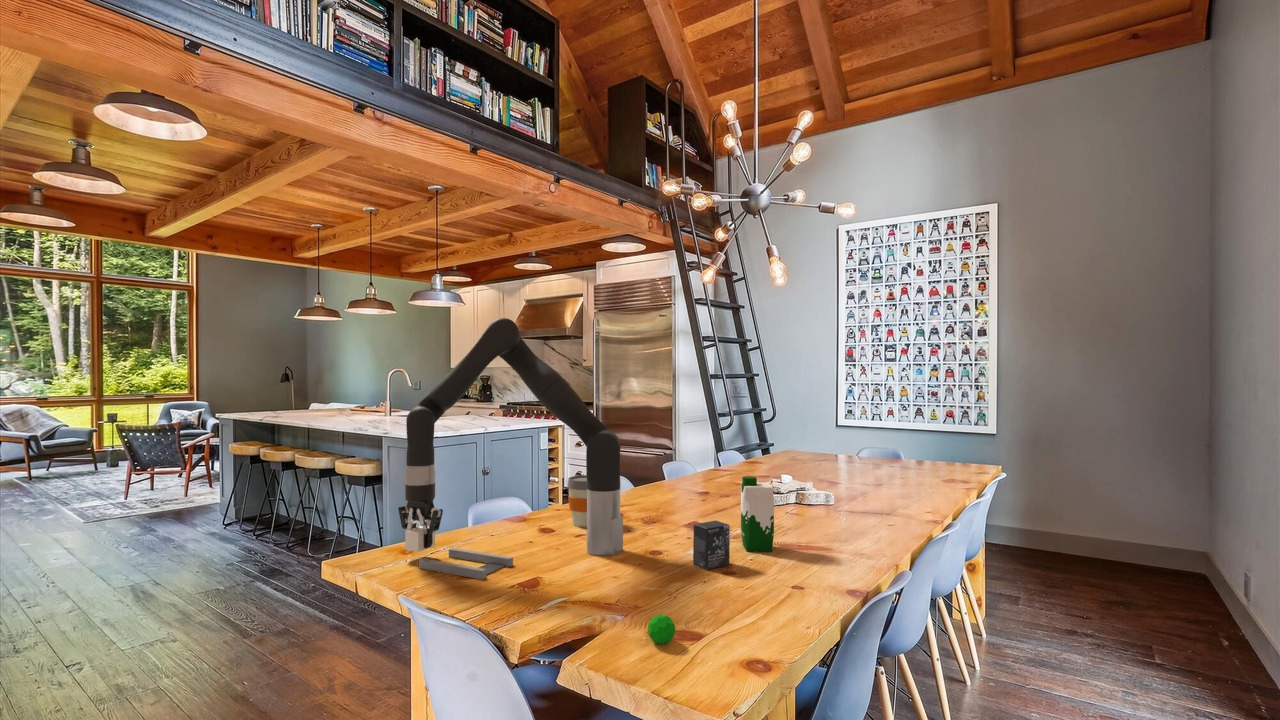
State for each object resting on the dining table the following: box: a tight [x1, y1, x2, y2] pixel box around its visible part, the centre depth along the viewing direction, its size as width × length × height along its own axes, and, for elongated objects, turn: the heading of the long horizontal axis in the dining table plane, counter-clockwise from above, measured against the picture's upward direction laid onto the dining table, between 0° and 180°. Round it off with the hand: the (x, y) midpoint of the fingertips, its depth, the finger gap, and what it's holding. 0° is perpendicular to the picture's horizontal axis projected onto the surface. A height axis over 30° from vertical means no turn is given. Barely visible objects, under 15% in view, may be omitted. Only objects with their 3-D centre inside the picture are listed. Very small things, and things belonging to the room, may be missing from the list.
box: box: [692, 520, 731, 571], centre depth 154 cm, size 8×6×11 cm
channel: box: [418, 547, 514, 580], centre depth 152 cm, size 20×12×2 cm, turn 65°
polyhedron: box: [647, 614, 676, 646], centre depth 109 cm, size 5×5×5 cm
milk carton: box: [740, 475, 775, 553], centre depth 169 cm, size 9×9×20 cm
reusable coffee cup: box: [566, 474, 587, 528], centre depth 197 cm, size 13×13×15 cm
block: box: [404, 525, 436, 553], centre depth 159 cm, size 4×6×5 cm
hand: (420, 546), depth 159 cm, fingers closed on block, 4 cm apart
